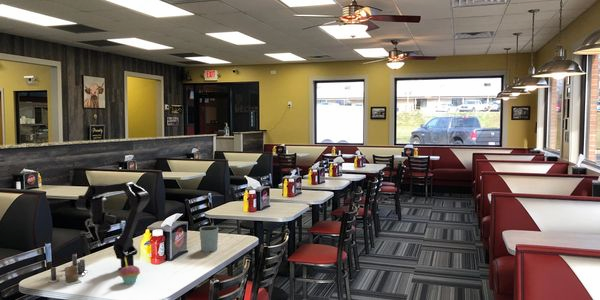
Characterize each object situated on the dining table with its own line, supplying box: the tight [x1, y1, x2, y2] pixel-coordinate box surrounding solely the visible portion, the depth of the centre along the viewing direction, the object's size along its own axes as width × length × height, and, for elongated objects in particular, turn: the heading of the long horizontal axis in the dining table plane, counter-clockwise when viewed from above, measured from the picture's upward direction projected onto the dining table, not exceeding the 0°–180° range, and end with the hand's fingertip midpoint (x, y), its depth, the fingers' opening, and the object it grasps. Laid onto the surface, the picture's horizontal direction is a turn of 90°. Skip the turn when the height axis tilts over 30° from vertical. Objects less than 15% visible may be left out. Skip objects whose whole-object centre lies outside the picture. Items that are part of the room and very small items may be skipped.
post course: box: [48, 253, 88, 284], centre depth 216 cm, size 19×17×6 cm
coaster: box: [62, 278, 82, 286], centre depth 205 cm, size 6×6×1 cm
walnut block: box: [64, 265, 79, 283], centre depth 205 cm, size 4×4×6 cm
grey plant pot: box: [199, 225, 219, 253], centre depth 251 cm, size 10×10×12 cm
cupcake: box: [118, 258, 141, 285], centre depth 203 cm, size 9×8×12 cm
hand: (98, 242), depth 225 cm, fingers open, 9 cm apart
